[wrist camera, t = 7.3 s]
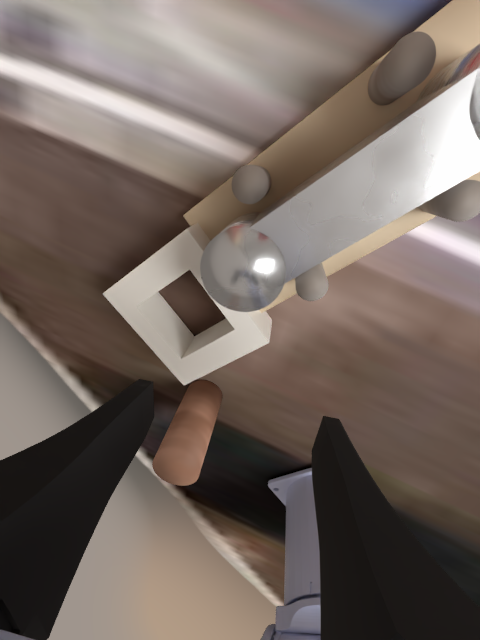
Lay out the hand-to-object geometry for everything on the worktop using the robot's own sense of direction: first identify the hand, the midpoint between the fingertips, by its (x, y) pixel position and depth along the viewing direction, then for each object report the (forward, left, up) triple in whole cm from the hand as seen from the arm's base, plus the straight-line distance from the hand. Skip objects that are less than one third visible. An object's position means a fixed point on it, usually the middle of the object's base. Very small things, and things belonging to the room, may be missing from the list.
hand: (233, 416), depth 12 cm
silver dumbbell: (+4, -8, -8) cm, 12 cm away
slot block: (+3, +3, -9) cm, 10 cm away
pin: (-4, +8, -9) cm, 13 cm away
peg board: (+4, -8, -9) cm, 13 cm away
